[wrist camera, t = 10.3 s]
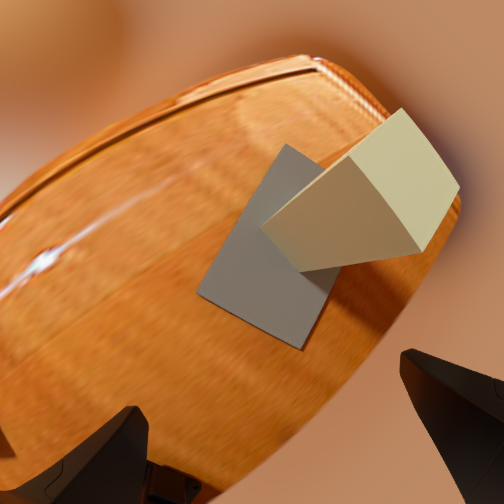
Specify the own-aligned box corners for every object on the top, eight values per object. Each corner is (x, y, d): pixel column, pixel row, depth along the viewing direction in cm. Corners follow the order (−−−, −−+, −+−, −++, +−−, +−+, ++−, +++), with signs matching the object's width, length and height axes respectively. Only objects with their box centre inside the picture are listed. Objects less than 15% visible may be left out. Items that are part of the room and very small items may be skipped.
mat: (297, 348, 22) (300, 349, 21) (195, 292, 21) (195, 292, 20) (366, 203, 25) (369, 202, 24) (283, 146, 24) (285, 143, 23)
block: (298, 272, 22) (422, 252, 10) (259, 228, 22) (348, 155, 9) (335, 234, 23) (459, 187, 11) (299, 192, 23) (401, 107, 10)
